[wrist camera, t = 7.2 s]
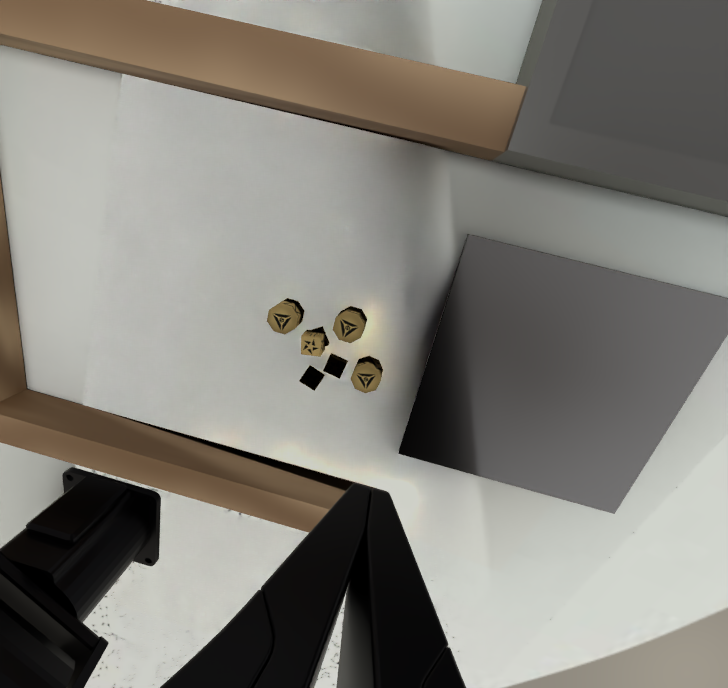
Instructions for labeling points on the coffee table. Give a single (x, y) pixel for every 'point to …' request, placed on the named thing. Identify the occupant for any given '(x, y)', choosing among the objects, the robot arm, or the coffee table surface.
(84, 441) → the wooden u-frame
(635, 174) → the bin
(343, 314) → the dice set
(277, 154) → the coffee table surface
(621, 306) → the mat
